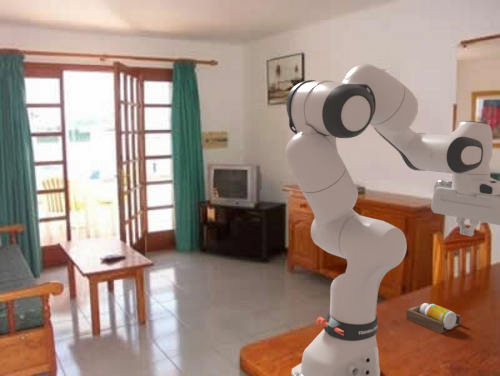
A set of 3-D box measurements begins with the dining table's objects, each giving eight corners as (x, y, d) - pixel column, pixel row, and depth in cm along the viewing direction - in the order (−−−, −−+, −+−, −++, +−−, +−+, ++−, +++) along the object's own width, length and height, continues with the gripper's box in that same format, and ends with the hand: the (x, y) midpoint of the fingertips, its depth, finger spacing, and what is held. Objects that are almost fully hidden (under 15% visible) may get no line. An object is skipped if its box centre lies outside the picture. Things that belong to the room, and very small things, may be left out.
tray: (441, 333, 131) (441, 323, 131) (406, 318, 141) (406, 309, 141) (460, 324, 137) (461, 315, 136) (425, 311, 147) (426, 302, 146)
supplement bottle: (447, 311, 131) (420, 299, 139) (443, 329, 131) (416, 316, 139) (458, 312, 134) (431, 301, 142) (454, 330, 134) (427, 317, 142)
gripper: (428, 180, 125) (425, 228, 127) (503, 189, 108) (498, 245, 110) (441, 178, 128) (438, 225, 131) (516, 187, 112) (511, 241, 114)
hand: (466, 235), depth 120 cm, fingers closed
